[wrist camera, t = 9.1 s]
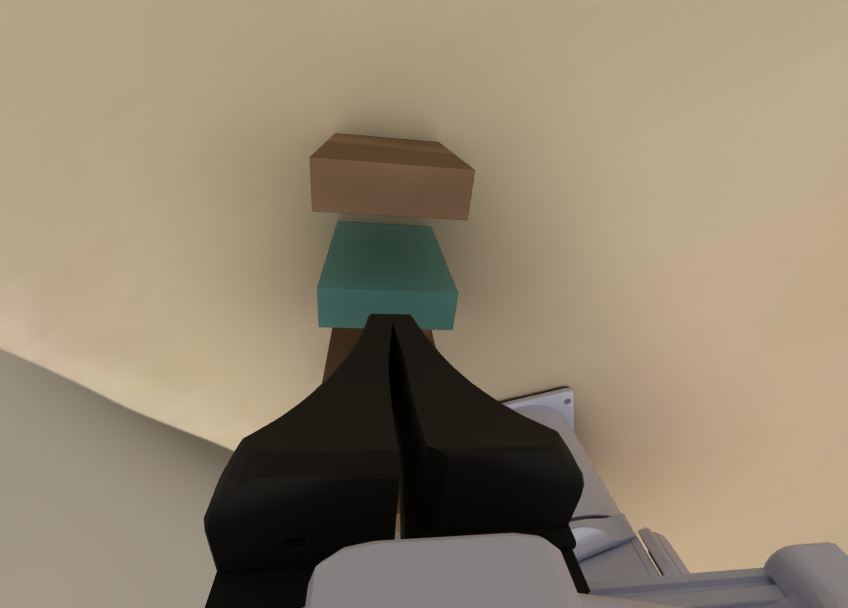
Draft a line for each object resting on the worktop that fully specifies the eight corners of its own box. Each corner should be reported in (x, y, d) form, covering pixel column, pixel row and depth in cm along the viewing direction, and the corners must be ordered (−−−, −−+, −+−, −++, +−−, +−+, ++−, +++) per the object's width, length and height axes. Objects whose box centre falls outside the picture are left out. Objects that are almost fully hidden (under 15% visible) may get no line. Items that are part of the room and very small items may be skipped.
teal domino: (428, 253, 22) (452, 329, 15) (338, 249, 21) (319, 327, 14) (430, 226, 21) (457, 292, 14) (337, 221, 20) (317, 287, 13)
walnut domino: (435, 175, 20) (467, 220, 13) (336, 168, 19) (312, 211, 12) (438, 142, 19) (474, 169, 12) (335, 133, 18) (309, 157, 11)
